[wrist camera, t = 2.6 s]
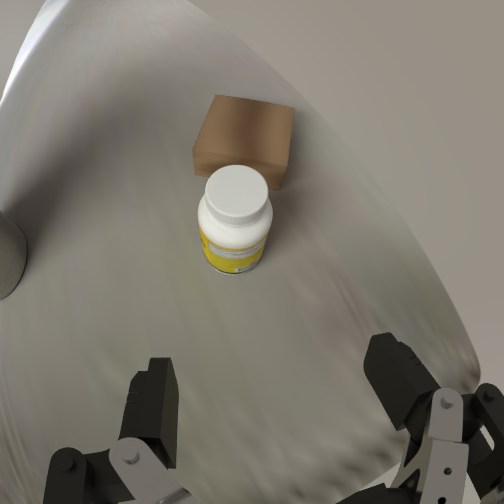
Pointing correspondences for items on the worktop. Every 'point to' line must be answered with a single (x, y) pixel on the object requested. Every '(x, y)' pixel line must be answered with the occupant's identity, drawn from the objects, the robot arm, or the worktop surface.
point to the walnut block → (245, 138)
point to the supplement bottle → (234, 219)
